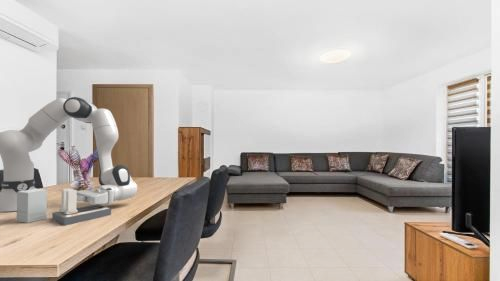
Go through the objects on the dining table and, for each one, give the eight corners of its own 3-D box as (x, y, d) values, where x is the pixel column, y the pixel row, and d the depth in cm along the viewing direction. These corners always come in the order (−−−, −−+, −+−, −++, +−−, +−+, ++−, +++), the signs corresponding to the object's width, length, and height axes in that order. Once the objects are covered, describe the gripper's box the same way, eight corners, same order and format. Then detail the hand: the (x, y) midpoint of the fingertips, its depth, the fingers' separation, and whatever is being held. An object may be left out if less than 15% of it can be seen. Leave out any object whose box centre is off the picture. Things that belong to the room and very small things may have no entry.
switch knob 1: (60, 211, 104) (60, 189, 104) (70, 209, 107) (71, 188, 108) (62, 212, 103) (62, 190, 103) (73, 210, 106) (73, 188, 106)
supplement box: (47, 218, 105) (47, 189, 106) (26, 223, 98) (27, 192, 99) (36, 216, 108) (36, 188, 108) (15, 221, 101) (16, 191, 101)
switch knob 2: (64, 213, 101) (64, 191, 101) (75, 211, 105) (75, 189, 105) (66, 214, 100) (67, 191, 100) (77, 212, 103) (78, 190, 103)
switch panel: (52, 219, 103) (52, 211, 103) (97, 210, 118) (97, 203, 118) (64, 225, 96) (64, 217, 96) (110, 214, 111) (111, 207, 111)
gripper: (94, 185, 124) (61, 189, 112) (114, 190, 112) (80, 195, 101) (94, 197, 124) (61, 203, 112) (114, 203, 112) (80, 210, 101)
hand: (70, 199), depth 107 cm, fingers closed, pressing on switch knob 1
